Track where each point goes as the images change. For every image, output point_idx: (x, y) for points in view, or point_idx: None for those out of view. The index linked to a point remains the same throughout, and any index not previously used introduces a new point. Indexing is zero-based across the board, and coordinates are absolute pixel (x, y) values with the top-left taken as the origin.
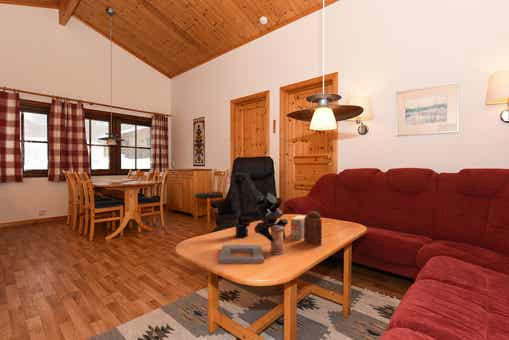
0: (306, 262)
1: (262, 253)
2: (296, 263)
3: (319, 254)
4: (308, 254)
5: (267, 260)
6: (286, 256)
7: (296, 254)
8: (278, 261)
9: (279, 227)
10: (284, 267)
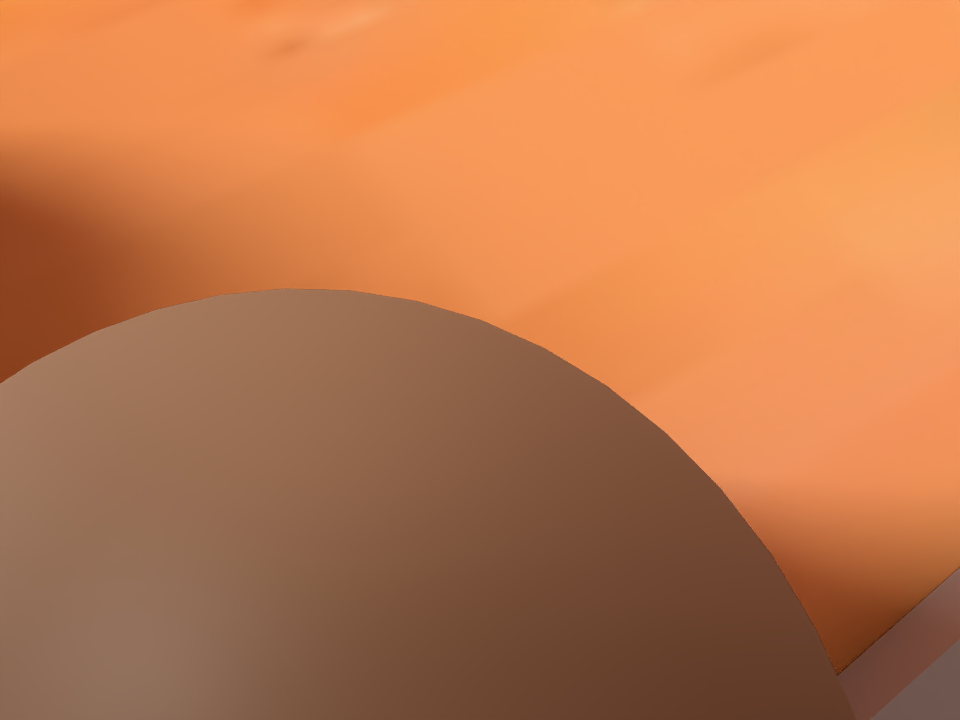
0: (560, 11)
1: (924, 678)
2: (685, 91)
3: (172, 5)
4: (254, 114)
5: (907, 499)
6: (532, 331)
7: (355, 248)
8: (807, 328)
9: (297, 605)
10: (936, 148)
